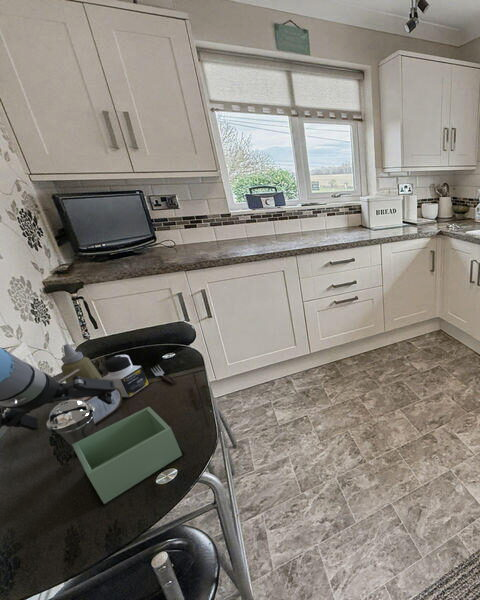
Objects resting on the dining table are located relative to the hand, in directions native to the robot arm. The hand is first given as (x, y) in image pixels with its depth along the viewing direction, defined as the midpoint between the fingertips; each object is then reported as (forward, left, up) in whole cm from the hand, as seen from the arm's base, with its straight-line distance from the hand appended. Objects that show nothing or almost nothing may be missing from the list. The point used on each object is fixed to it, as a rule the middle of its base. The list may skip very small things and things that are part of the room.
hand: (73, 411), depth 79 cm
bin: (+18, +4, -10) cm, 21 cm away
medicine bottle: (-21, +13, -10) cm, 27 cm away
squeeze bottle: (-31, +5, -10) cm, 33 cm away
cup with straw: (+1, -1, -10) cm, 11 cm away
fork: (-19, +23, -11) cm, 31 cm away
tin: (-11, +3, -10) cm, 15 cm away
